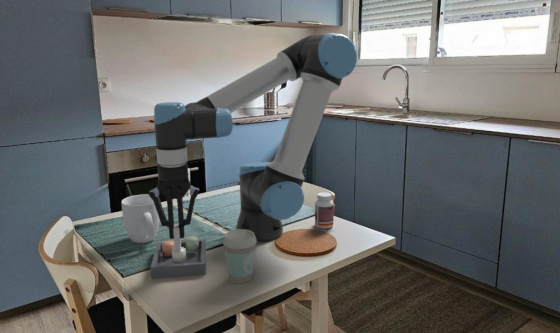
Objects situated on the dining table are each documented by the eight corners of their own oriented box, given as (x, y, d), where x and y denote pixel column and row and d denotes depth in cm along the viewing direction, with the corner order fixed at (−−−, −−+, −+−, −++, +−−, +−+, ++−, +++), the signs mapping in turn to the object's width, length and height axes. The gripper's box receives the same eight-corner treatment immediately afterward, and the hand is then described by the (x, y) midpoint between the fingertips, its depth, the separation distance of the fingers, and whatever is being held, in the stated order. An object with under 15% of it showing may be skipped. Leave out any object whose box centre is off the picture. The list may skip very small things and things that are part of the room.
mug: (171, 245, 135) (168, 204, 132) (134, 254, 129) (130, 211, 126) (155, 229, 147) (152, 192, 144) (121, 237, 141) (117, 198, 138)
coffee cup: (244, 289, 110) (243, 244, 107) (217, 280, 114) (215, 237, 111) (264, 275, 117) (263, 232, 114) (237, 267, 121) (236, 225, 118)
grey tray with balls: (206, 248, 133) (205, 239, 132) (206, 274, 117) (205, 263, 117) (157, 252, 131) (157, 242, 130) (151, 278, 115) (150, 268, 115)
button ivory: (186, 257, 122) (185, 246, 122) (185, 263, 119) (185, 252, 118) (173, 258, 122) (172, 247, 121) (172, 264, 118) (171, 253, 118)
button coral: (176, 250, 128) (175, 240, 127) (175, 255, 125) (174, 245, 124) (163, 251, 128) (162, 241, 127) (161, 256, 124) (161, 246, 123)
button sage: (199, 246, 129) (198, 235, 128) (198, 251, 125) (198, 240, 125) (186, 246, 128) (185, 236, 127) (185, 252, 125) (185, 241, 124)
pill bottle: (337, 225, 149) (337, 194, 147) (325, 230, 145) (325, 198, 143) (323, 220, 154) (323, 190, 151) (311, 225, 150) (311, 194, 147)
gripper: (198, 159, 118) (202, 241, 124) (148, 161, 116) (154, 245, 122) (198, 166, 111) (202, 253, 117) (144, 168, 109) (151, 257, 115)
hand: (177, 249), depth 120 cm, fingers closed
